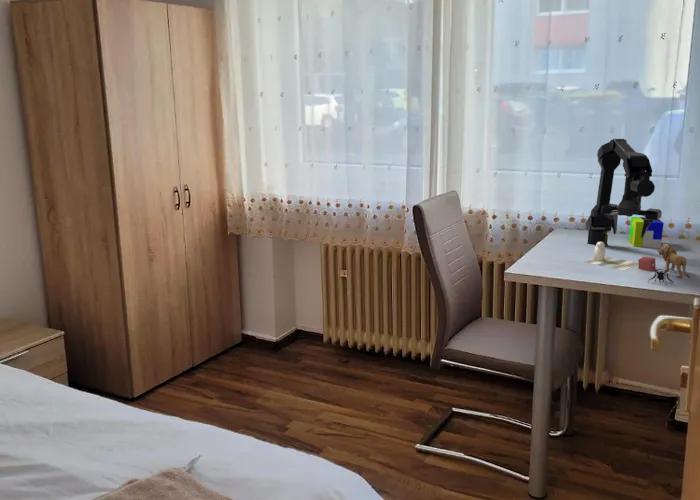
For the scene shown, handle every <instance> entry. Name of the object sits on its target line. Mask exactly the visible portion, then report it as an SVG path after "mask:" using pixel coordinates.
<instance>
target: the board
mask: <svg viewBox="0 0 700 500" xmlns="http://www.w3.org/2000/svg"><path fill="white" fill-rule="evenodd" d="M584 263H585V264H586V263H587V264H591V265H597V266H600V267H605V268H611V269H616V270H619V271H626V270H628V269H630V268H633V267H636V266H639V265H638V262H636V261H630V260H627V259H626V260H625V259H621V258H614V257H610V256H606V255H605V260H604V261H595V260H594V258H590V259H589V260H586V261H584Z"/></svg>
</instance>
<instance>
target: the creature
mask: <svg viewBox="0 0 700 500" xmlns="http://www.w3.org/2000/svg"><path fill="white" fill-rule="evenodd" d="M651 267H652V266H651ZM652 268H653V267H652ZM653 269H654V268H653ZM670 269H672V267H671V268H669V270H667V271H663V270H660V271H658V270H657V269H656V268H655V269H654V270H653V271H655V272H654V275H653V277H651V278H649V279H648V280H647V282H649V281H651V280H654V279H655V280H654V283H652V285H654V284H657V283H656V281H657V279H658V280H659V285H661V284H662V283H665V284H667V281H666V278H667V280H668V281H669V282H671V283H673V284H675V282H674V281H672V280H671V279H670V277H669V273H668V272H670V271H671V270H670ZM666 273H667V274H666ZM665 274H666V278H665ZM656 276H657V277H656ZM661 282H662V283H661Z"/></svg>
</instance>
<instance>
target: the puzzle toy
mask: <svg viewBox="0 0 700 500" xmlns="http://www.w3.org/2000/svg"><path fill="white" fill-rule="evenodd" d="M644 219H646V217H645V216H643V217H642V216H630V226H629V234H628V236H629V237H628V242H629V243H630V244H631V245H632V246H633V247H636V248H654V249H655V248H656V249H657V248H658V249H661V247H662V241H663V233H664V222H663V221H662V220H661V218H659V219H658V220H655V221H653V222H652V223H651V224H650V226H649V227H648V229H647V231H646V233H645V235H644V237H643V238H641V233H642V229H643V224H644V221H643V220H644Z"/></svg>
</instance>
